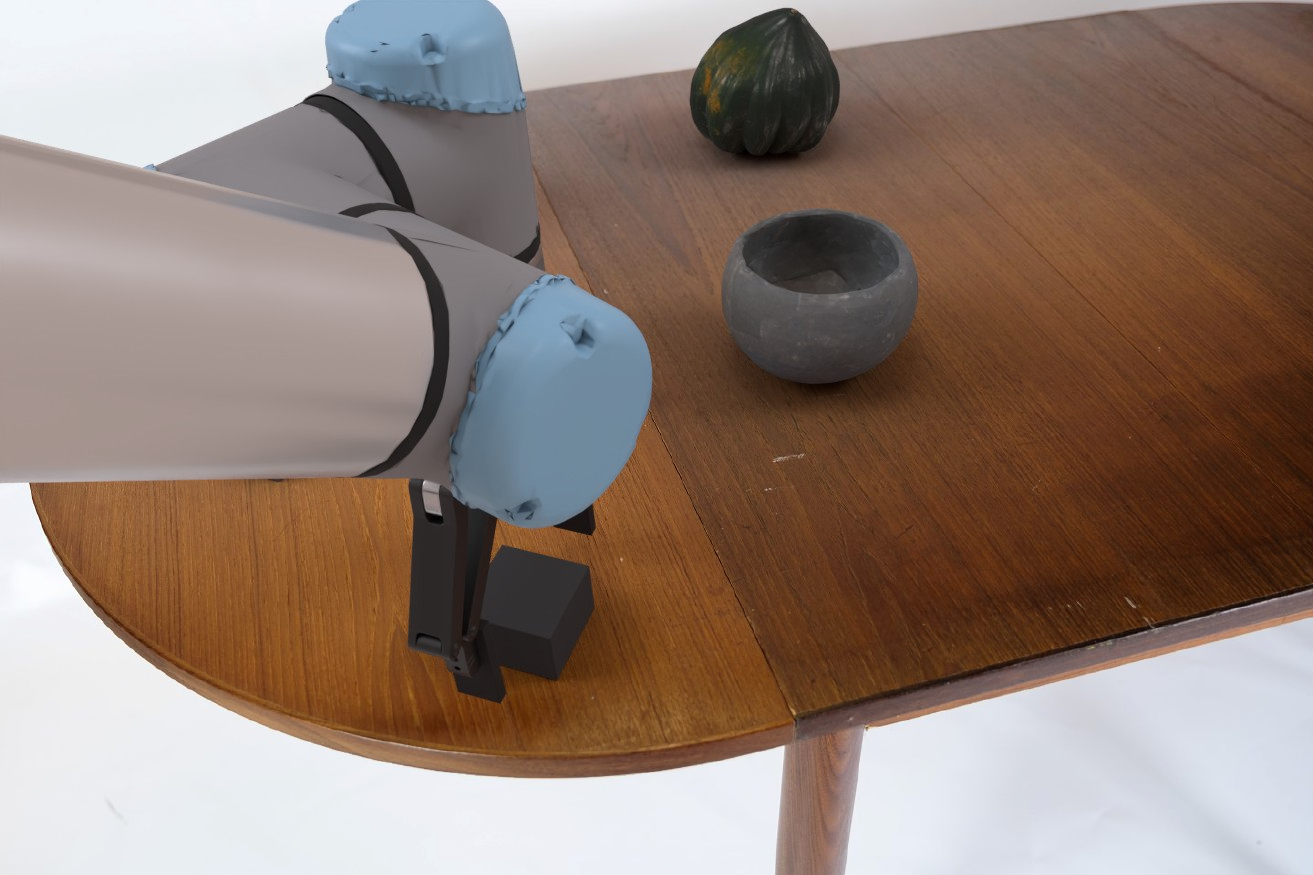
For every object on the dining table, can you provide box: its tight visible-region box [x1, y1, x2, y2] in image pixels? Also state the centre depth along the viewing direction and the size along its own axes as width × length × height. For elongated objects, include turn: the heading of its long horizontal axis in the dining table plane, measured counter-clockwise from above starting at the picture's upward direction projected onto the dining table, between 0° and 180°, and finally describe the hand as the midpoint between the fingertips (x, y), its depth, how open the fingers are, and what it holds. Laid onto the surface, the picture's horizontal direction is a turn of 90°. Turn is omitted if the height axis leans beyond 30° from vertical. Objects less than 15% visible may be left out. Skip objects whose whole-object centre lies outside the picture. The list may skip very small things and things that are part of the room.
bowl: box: [720, 207, 919, 385], centre depth 87 cm, size 15×15×10 cm
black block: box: [480, 544, 595, 681], centre depth 69 cm, size 6×6×4 cm
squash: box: [689, 7, 841, 156], centre depth 115 cm, size 14×15×15 cm
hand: (531, 604), depth 69 cm, fingers open, 13 cm apart
